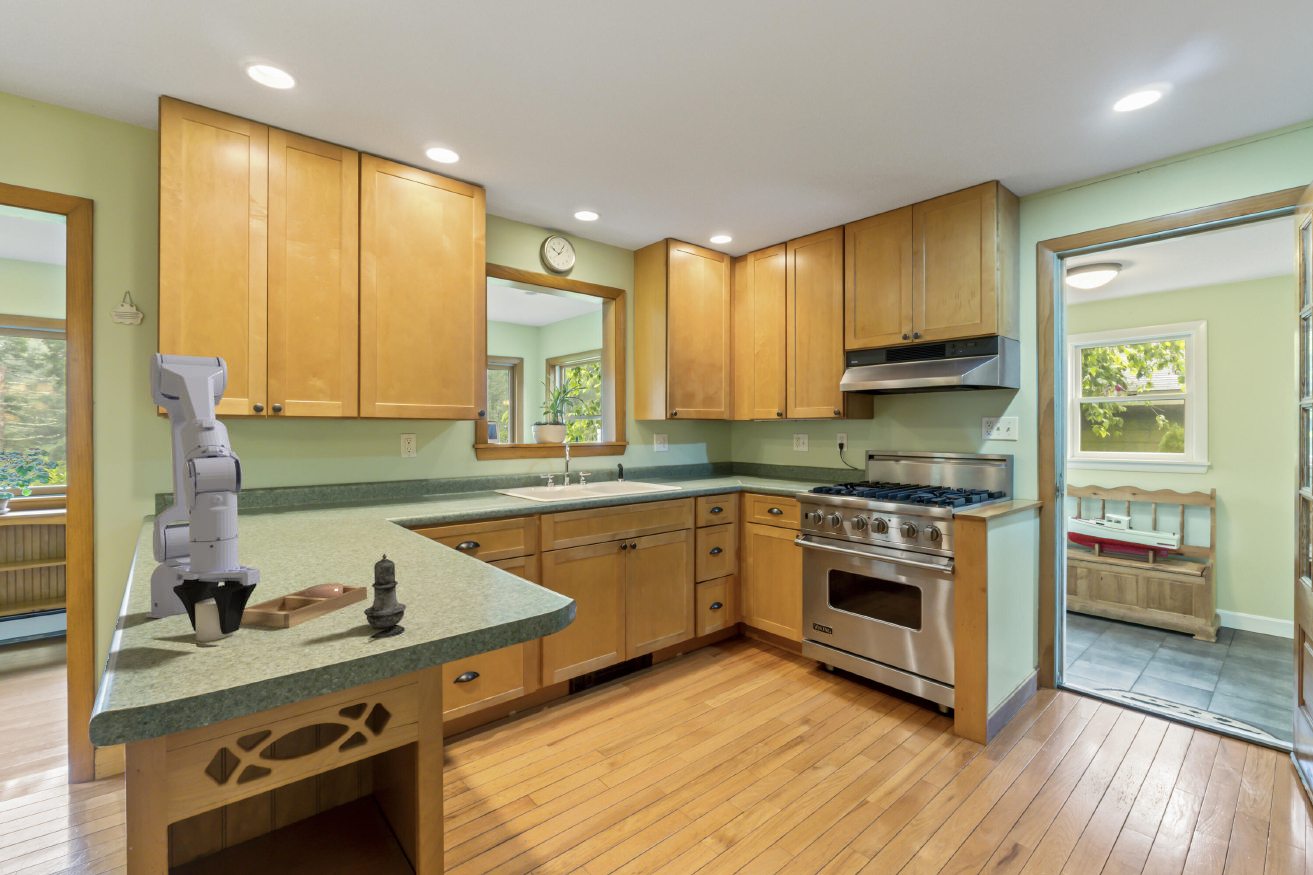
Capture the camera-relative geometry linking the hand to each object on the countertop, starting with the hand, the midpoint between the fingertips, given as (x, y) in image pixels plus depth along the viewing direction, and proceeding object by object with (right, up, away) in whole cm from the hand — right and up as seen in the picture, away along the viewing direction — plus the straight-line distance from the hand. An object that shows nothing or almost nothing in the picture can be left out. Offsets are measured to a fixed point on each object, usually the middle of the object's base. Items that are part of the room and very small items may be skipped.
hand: (216, 630), depth 87 cm
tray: (+6, -1, +12) cm, 13 cm away
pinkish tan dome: (+7, 0, +15) cm, 17 cm away
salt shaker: (+24, -1, +3) cm, 24 cm away
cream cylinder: (0, -2, 0) cm, 2 cm away
